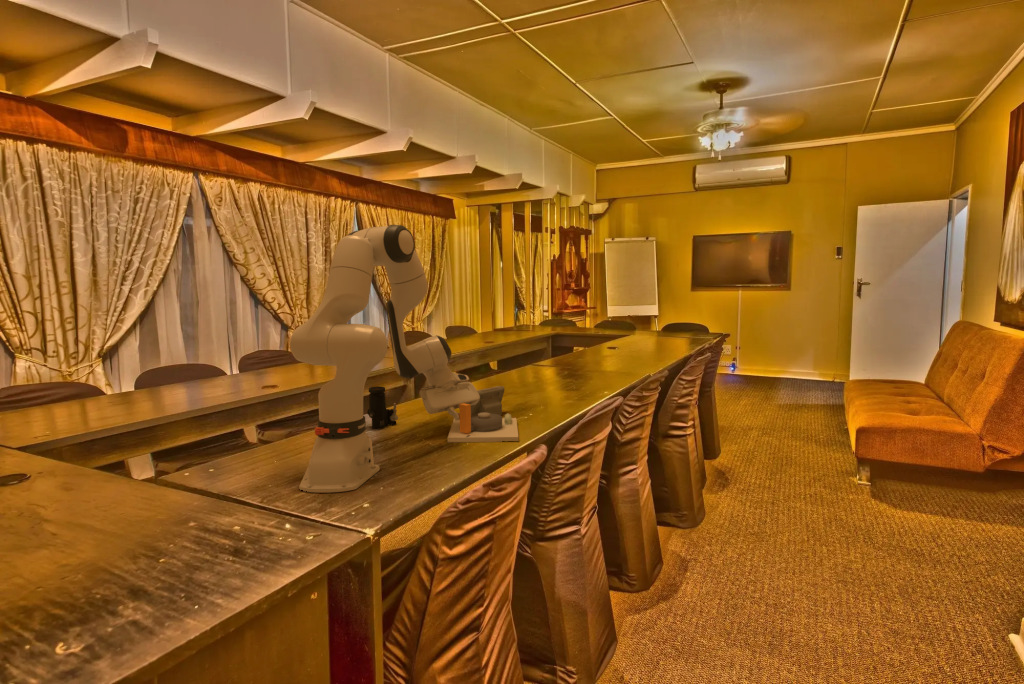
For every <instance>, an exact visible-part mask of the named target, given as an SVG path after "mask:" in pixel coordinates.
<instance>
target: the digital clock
mask: <svg viewBox="0 0 1024 684" xmlns="http://www.w3.org/2000/svg"><path fill="white" fill-rule="evenodd" d="M476 390H477V392H478V393H479V395H480V400H479V401H478V403H477V404H476V405H472V406H471V415H472V414H478V413H483V412H486V413H492V414H498V415H502V416H503V405H502V400H503V397H504V393H505V386H504V385H498V386H493V387H489V388H482V389H476Z"/></svg>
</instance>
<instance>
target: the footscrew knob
mask: <svg viewBox="0 0 1024 684" xmlns="http://www.w3.org/2000/svg"><path fill="white" fill-rule="evenodd" d="M459 408H460V409H459ZM459 408H458V409H459V413H460V432H462V433H466V434H467V433H470V432H471V431H492V430H497V429H500V428H501V427H502V418H503V415H502V416H501V415H498V414H492V413H486V412H483V413H478V414H472V415H471V405H470V404H465V403H463V404H459Z"/></svg>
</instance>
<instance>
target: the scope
mask: <svg viewBox="0 0 1024 684" xmlns="http://www.w3.org/2000/svg"><path fill="white" fill-rule="evenodd" d="M385 392H386V387H385V386H371V387H369V388H368V393H369V394H368V395H369V396H368V397H369V398H368V406H369V407H368V409H367V415H368V416H369V418H370V419H371V429H372V430H383V429H385V427H386V428H387V427H388V426H395V425H397V421H398V419H399V416H398V415H397V411H398V410H397V403H396V402H394V403H393V404H392V405H393V408H390V409H389V408H387V405H386V404H387V403H386V393H385Z"/></svg>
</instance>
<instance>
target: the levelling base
mask: <svg viewBox="0 0 1024 684" xmlns="http://www.w3.org/2000/svg"><path fill="white" fill-rule="evenodd" d="M502 441H518V442H519V430H518V421H517V417H512V414H511V413H508V412H507V413H506V414H504V417H502V427H501V428H500V429H497V430H492V431H471V432H470V433H467V434H466V433H462V432H460V420H457V421H456V420H455V418H454V417H453V421H452V423H451V426H450V430H449V433H448V436H447V443H503V442H502Z"/></svg>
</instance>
